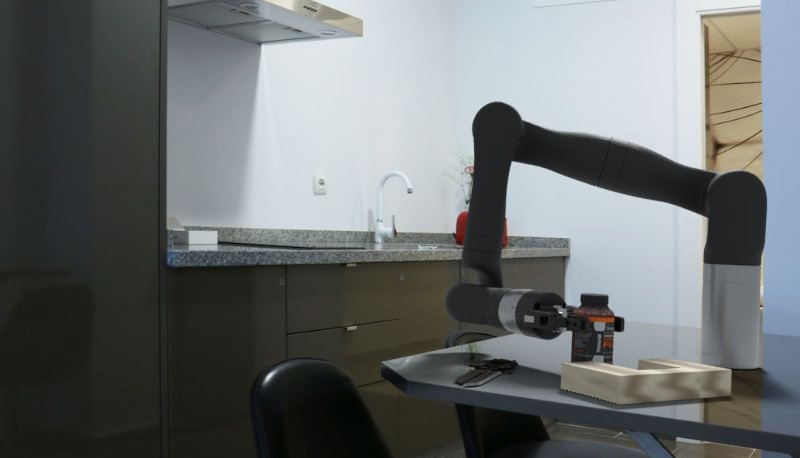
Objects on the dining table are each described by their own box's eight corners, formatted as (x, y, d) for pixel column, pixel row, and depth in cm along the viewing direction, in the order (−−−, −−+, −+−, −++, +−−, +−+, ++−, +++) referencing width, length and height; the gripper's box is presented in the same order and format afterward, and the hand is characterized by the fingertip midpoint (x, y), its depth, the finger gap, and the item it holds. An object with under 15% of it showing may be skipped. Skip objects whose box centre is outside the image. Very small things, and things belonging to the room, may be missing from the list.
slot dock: (668, 382, 121) (668, 358, 121) (730, 395, 112) (731, 369, 112) (560, 389, 112) (561, 362, 112) (619, 404, 102) (620, 375, 102)
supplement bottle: (610, 376, 117) (613, 296, 117) (567, 372, 119) (570, 293, 119) (614, 370, 123) (617, 294, 123) (573, 367, 125) (576, 291, 125)
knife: (473, 392, 109) (473, 381, 109) (428, 387, 112) (428, 376, 112) (529, 369, 132) (529, 360, 132) (490, 365, 135) (490, 356, 135)
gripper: (496, 289, 130) (567, 298, 116) (568, 290, 137) (643, 299, 122) (494, 337, 130) (565, 353, 115) (566, 335, 137) (641, 350, 122)
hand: (605, 325), depth 119 cm, fingers closed on supplement bottle, 6 cm apart
